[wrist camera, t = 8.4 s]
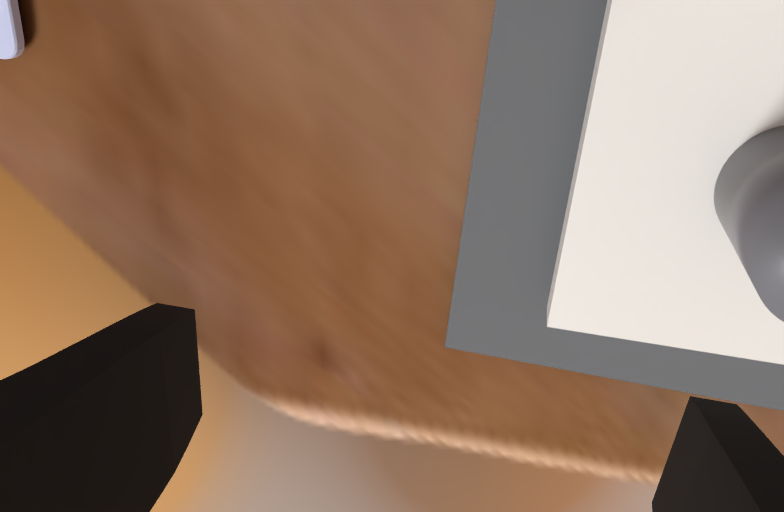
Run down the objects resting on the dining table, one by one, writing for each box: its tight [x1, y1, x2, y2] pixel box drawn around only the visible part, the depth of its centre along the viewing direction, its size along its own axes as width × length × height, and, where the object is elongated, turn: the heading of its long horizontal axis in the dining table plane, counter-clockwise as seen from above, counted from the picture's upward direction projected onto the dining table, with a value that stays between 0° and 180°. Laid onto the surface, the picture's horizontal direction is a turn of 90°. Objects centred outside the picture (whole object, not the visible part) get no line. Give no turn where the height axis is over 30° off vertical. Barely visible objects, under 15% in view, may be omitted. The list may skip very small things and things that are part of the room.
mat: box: [445, 0, 784, 411], centre depth 17 cm, size 14×14×1 cm
